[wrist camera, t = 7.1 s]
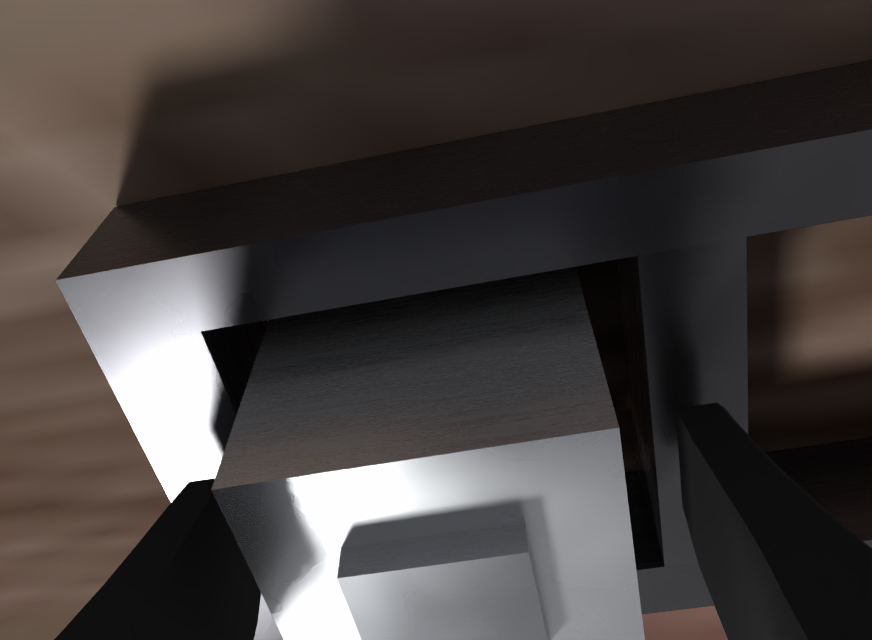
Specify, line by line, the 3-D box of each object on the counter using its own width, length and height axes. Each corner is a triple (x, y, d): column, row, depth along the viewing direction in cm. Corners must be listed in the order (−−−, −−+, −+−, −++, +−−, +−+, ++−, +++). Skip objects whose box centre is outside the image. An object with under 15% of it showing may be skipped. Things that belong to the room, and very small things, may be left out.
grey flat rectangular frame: (275, 564, 19) (253, 662, 17) (114, 207, 14) (56, 280, 12) (1130, 447, 17) (1230, 541, 15) (1277, -19, 12) (1455, 21, 10)
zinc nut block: (356, 475, 17) (319, 754, 12) (284, 271, 15) (201, 519, 10) (594, 439, 17) (657, 717, 12) (563, 221, 14) (627, 456, 9)
